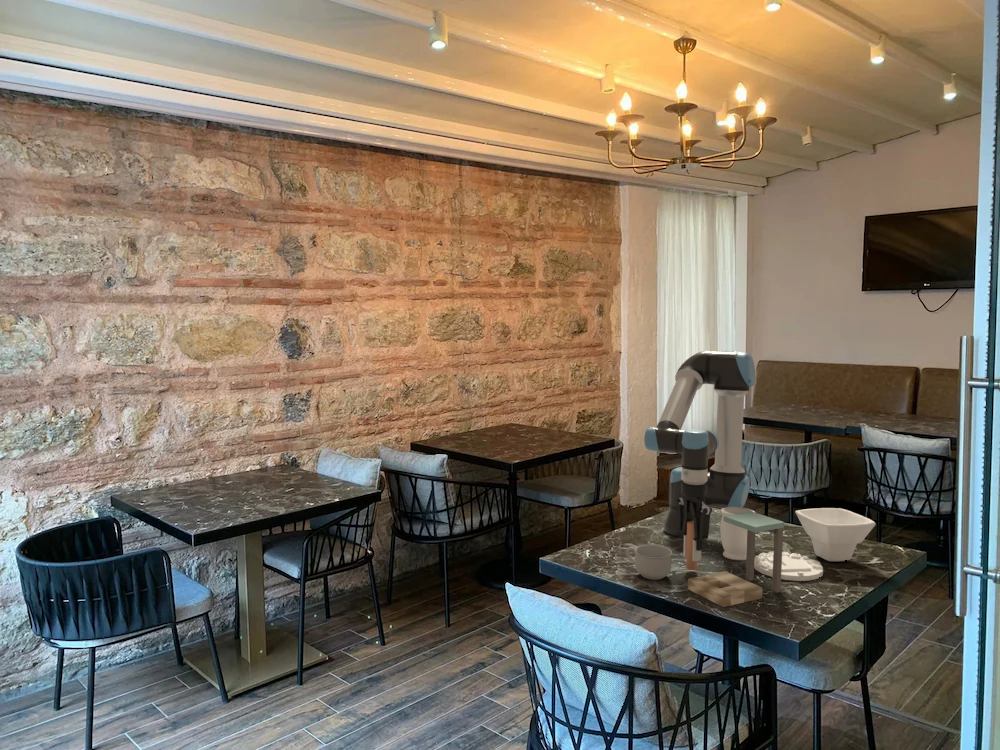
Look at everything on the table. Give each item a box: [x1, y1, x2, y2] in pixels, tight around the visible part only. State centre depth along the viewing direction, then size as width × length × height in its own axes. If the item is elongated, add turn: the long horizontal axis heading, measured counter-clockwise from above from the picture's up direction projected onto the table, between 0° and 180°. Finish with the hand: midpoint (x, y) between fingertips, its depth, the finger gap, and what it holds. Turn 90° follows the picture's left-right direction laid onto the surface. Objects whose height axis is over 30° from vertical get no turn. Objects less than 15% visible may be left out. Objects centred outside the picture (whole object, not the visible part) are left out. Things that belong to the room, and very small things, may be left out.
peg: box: [685, 521, 699, 571], centre depth 221 cm, size 3×3×14 cm
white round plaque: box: [754, 550, 824, 582], centre depth 224 cm, size 20×20×3 cm
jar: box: [719, 507, 756, 561], centre depth 236 cm, size 11×10×15 cm
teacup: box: [625, 543, 673, 581], centre depth 219 cm, size 14×11×8 cm
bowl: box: [795, 507, 876, 562], centre depth 234 cm, size 19×19×14 cm
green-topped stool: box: [723, 511, 785, 594], centre depth 209 cm, size 12×11×20 cm
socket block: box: [687, 570, 763, 608], centre depth 205 cm, size 14×14×3 cm
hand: (692, 557), depth 221 cm, fingers closed on peg, 3 cm apart
